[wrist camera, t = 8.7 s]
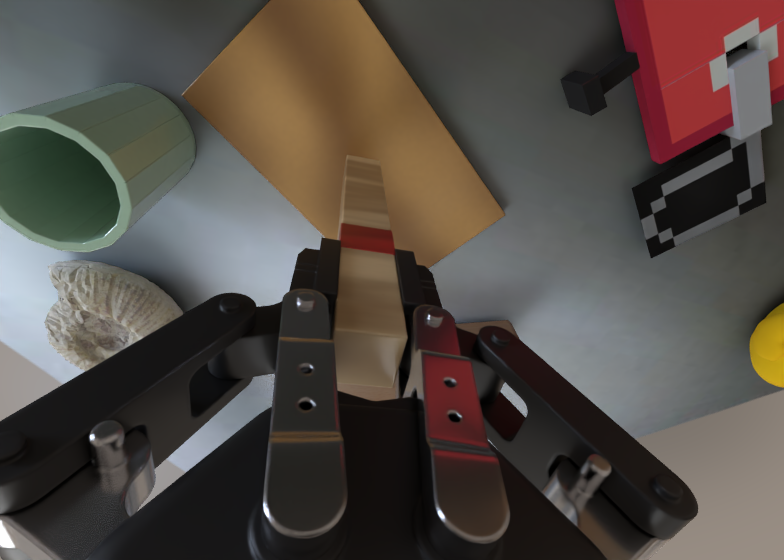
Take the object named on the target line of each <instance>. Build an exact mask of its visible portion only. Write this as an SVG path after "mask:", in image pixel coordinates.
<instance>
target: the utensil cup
mask: <svg viewBox="0 0 784 560" xmlns="http://www.w3.org/2000/svg"><path fill="white" fill-rule="evenodd" d="M195 154H196V144H195V138H194V135H193V132H192V129H191V127H190V124H189V122H188V121H187V119H186V117H185V116H184V115H183V113H182V112H181V111H180V109H179V108H178V107H177V106H176V105H175V104H174V103H173V102H172V101H170V100H169V99H168V98H167V97H165V96H164V95H162V94H161V93H159V92H157V91H156V90H154V89H151V88H149V87H147V86H144V85H140V84H135V83H114V84H110V85H107V86H103V87H100V88H96V89H93V90H89V91H86V92H82V93H79V94H75V95H72V96H68V97H65V98H61V99H58V100H54V101H51V102H47V103H44V104H40V105H37V106H33V107H30V108H26V109H23V110H19V111H16V112H12V113H9V114H6V115H3V116H0V219H1V220H2V221H3V222H4V223H5V224H7V225H8V226H10V227H11V228H13V229H14V230H16V231H17V232H19V233H20V234H22V235H23V236H25V237H26V238H28V239H31V240H32V241H35V242H37V243H40V244H43V245H46V246H49V247H51V248H54V249H57V250H61V251H75V252H91V251H95V250H98V249H101V248H105V247H108V246H111V245H113V244H114V243H115V242H116V241H117V240H118V239H119V238H120V237H121V236H122V235H123V234H124V233H125V232H126V231H128V230H129V229H130V228H131V227H132V226H133V225H134V224H135V223H136V222H137V221H138V220H139V219H140V218H141V217H142V216H143V215H144V214H146V213H147V212H148V211H149V210H150V209H151V208H152V207H153V206H154V205H155V204H156V203H157V202H158V201H159V200H160V199H161V198H162V197H164V196H165V195H166V194H167V193H168V192H169V191H170V190H171V189H172V188H173V187H174V186H175V185H176V184H177V183H178V182H179V181H180V180H181V179H182V178H183V177H185V176H186V175H187V174H188V172H189V171H190V169H191V167H192V165H193V163H194V160H195Z"/></svg>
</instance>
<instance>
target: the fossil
mask: <svg viewBox="0 0 784 560" xmlns="http://www.w3.org/2000/svg"><path fill="white" fill-rule="evenodd" d="M48 268H49V270H50V273H49V275H50V279H51V282H52V283H53V285H54V287H55V288H56V289H57V290H58V301H57V302H56V303H55V304H54V305H53V306H52V307H51V309H50V310H49V312H48V314H47V317H46V320H45V322H44V323H45V325H46V329H47V330H48V340H49V343H50V344H51V345H52V346H53V348H54V349H56V350H57V352H58V353H60V354H61V356H63V357H65V360H68V361H69V362H70V363H72V364H74V365H75V366H77V367H79V368H80V369H83V370H85V371H87V370H89V369H91V368H92V367H94V366H96V365H97V364H99V363H101V362H103V361H104V360H106V359H108V358H109V357H111V356H113V355H115V354H116V353H118V352H120V351H121V350H123V349H125V348H127V347H128V346H130V345H132V344H133V343H135V342H137V341H139V340H140V339H142V338H144V337H145V336H147V335H149V334H150V333H152V332H154V331H156V330H157V329H159V328H161V327H162V326H164V325H166V324H168V323H169V322H171V321H173V320H174V319H176V318H178V317H180V316H181V315H183V311H182V310H181V309H180V307H179V306H177V303H176V302H174V300H173V298H171V297H170V296H169V295H168V294H166V293H165V292H164V290H162V289H159V286H157V285H155V284H154V283H152V282H149V281H148V280H147V279H145V278H143V277H142V276H140V275H137V274H135V273H131V272H129V271H126V270H123V269H122V268H120V267H116V266H111V265H108V264H105V263H103V262H94V261H87V260H72V261H64V262H56V263H53V264H50V265H49V266H48Z"/></svg>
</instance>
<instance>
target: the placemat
mask: <svg viewBox="0 0 784 560" xmlns="http://www.w3.org/2000/svg"><path fill="white" fill-rule="evenodd" d="M182 96H183V97H184V98H185V99H186V100H187V101H188V102H189V103H190V104H191V105H192V106H193V107H194V108H195V109H196V110H197V111H198V112H199V113H200V114H201V115H202V116H203V117H204V118H205V119H206V120H207V121H208V122H209V123H210V124H211V125H212V126H213V127H214V128H215V129H216V130H217V131H218V132H219V133H220V134H221V135H222V136H223V137H224V138H225V139H226V140H227V141H228V142H229V143H230V144H231V145H232V146H233V147H234V148H235V149H236V150H237V151H238V152H239V153H240V154H241V155H242V156H243V157H244V158H245V159H246V160H247V161H249V162H250V163H251V164H252V165H253V166H254V167H255V168H256V169H257V170H258V171H259V172H260V173H261V174H262V175H263V176H264V177H265V178H266V179H267V180H268V181H269V182H270V183H271V184H272V185H273V186H274V187H275V188H276V189H277V190H278V191H279V192H280V193H281V194H282V195H283V196H284V197H285V198H286V199H287V200H288V201H289V202H290V203H291V204H292V205H293V206H294V207H295V208H296V209H297V210H298V211H299V212H300V213H301V214H302V215H303V216H304V217H305V218H306V219H307V220H308V221H309V222H310V223H311V224H312V225H313V226H314V227H315V228H316V229H317V230H318V231H319V232H320V233H321V234H322V235H323V236H324V237H325V238H329V239H335V240H337V239H338V227H339V216H340V204H341V193H342V183H343V176H344V170H345V163H346V156H347V155H351V156H357V157H362V158H367V159H373V160H378V161H380V165H381V171H382V177H383V184H384V190H385V196H386V203H387V209H388V215H389V222H390V228H391V231H392V233H393V239H394V246H395V249H401V250H407V251H413V252H414V255H415V259H416V263H417V265H423V266H426V267H427V268H429V267H431V266H432V265H434V264H435V263H437V262H438V261H440V260H441V259H442V258H444V257H445V256H447V255H448V254H450V253H451V252H453V251H454V250H455V249H457V248H458V247H460V246H461V245H463V244H464V243H466V242H467V241H469V240H470V239H471V238H473V237H474V236H476V235H477V234H479V233H480V232H482V231H483V230H484V229H486V228H487V227H489V226H490V225H492V224H493V223H495V222H496V221H498V220H499V219H500V218H502V217H503V216H505V213H504V212H503V210H502V209H501V207H500V206H499V204H498V203H497V201H496V200H495V198H494V197H493V196H492V194H491V193H490V191H489V190H488V188H487V187H486V185H485V184H484V182H483V181H482V180H481V178H480V177H479V175H478V174H477V172H476V171H475V169H474V168H473V166H472V165H471V164H470V162H469V161H468V159H467V158H466V156H465V155H464V153H463V152H462V151H461V149H460V148H459V146H458V145H457V143H456V142H455V140H454V139H453V137H452V136H451V135H450V133H449V132H448V130H447V129H446V127H445V126H444V124H443V123H442V121H441V120H440V119H439V117H438V116H437V114H436V113H435V111H434V110H433V108H432V107H431V105H430V104H429V103H428V101H427V100H426V98H425V97H424V95H423V94H422V92H421V91H420V90H419V88H418V87H417V85H416V84H415V82H414V81H413V79H412V78H411V76H410V75H409V74H408V72H407V71H406V69H405V68H404V66H403V65H402V63H401V62H400V60H399V59H398V58H397V56H396V55H395V53H394V52H393V50H392V49H391V47H390V46H389V44H388V43H387V42H386V40H385V39H384V37H383V36H382V34H381V33H380V31H379V30H378V29H377V27H376V26H375V24H374V23H373V21H372V20H371V18H370V17H369V15H368V14H367V13H366V11H365V10H364V8H363V7H362V5H361V4H360V2H359V1H358V0H270V1H269V2H268V3H267V4H266V5H265V6H264V7H263V8H262V9H261V10H260V11H259V12H258V14H257V15H256V16H255V17H254V18H253V19H252V20H251V21H250V22H249V23H248V24H247V25H246V26H245V27H244V29H243V30H242V31H241V32H240V33H239V34H238V35H237V36H236V37H235V38H234V39H233V40H232V41H231V42H230V43H229V45H228V46H227V47H226V48H225V49H224V50H223V51H222V52H221V53H220V54H219V55H218V56H217V57H216V58H215V59H214V61H213V62H212V63H211V64H210V65H209V66H208V67H207V68H206V69H205V70H204V71H203V72H202V73H201V74H200V75H199V77H198V78H197V79H196V80H195V81H194V82H193V83H192V84H191V85H190V86H189V87H188V88H187V89H186V90H185V91H184V93H183V94H182Z"/></svg>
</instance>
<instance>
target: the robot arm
mask: <svg viewBox="0 0 784 560" xmlns="http://www.w3.org/2000/svg"><path fill="white" fill-rule="evenodd" d="M340 250H341V240H335V239H329V238H322V240H321V246H320V250H314V249H307V248H305V249H304V250H303V251H302V252H301V253H299V254H298V257H297V262H296V266H295V270H294V274H293V278H292V282H291V286H290V290H289V292H288V293H286V294H285V295H284V297H283V301H282V302H280V303H277V304H274V305H270V306H261V307H256V304H255V302H254V301H253V300H252V299H251V298H250V297H248V296H246V295H243V294H238V293H224V294H219V295H216V296H214V297H212V298H210V299H209V300H207V301H205V302H204V303H202V304H200V305H198V306H197V307H195V308H193V309H192V310H190V311H188V312H186V313H185V314H183V315H181V316H180V317H178V318H176V319H174V320H173V321H171V322H169V323H168V324H166V325H164V326H162V327H161V328H159V329H157V330H156V331H154V332H152V333H150V334H149V335H147V336H145V337H144V338H142V339H140V340H139V341H137V342H135V343H133V344H132V345H130V346H128V347H127V348H125V349H123V350H121V351H120V352H118V353H116V354H115V355H113V356H111V357H109V358H108V359H106V360H104V361H103V362H101V363H99V364H97V365H96V366H94V367H92V368H91V369H89V370H87V371H85V372H84V373H82V374H80V375H79V376H77V377H75V378H74V379H72V380H70V381H68V382H67V383H65V384H63V385H62V386H60V387H58V388H56V389H55V390H53V391H51V392H50V393H48V394H46V395H44V396H43V397H41V398H39V399H38V400H36V401H34V402H33V403H31V404H29V405H27V406H26V407H24V408H22V409H20V410H19V411H17V412H15V413H14V414H12V415H10V416H9V417H7V418H5V419H3V420H2V421H0V557H1V558H2V560H648V559H649V558H651V557H652V556H653V555H654V554H655V553H656V552H657V551H658V550H659V549H660V548H661V547H663V546H664V545H665V544H666V543H667V542H668V541H669V540H670V539H671V538H672V537H673V536H675V534H677V533H678V532H679V531H680V530H681V529H682V528H683V527H685V526H686V525H687V524H688V523H689V522H690V521H691V520H692V519H693V518H694V517H695V516H696V515H697V513H698V504H697V501H696V499H695V497H694V495H693V493H692V492H691V490H690V489H689V488H688V486H687V485H686V484H685V483H684V482H683V481H682V480H681V479H680V478H679V477H678V476H677V475H676V474H674V473H673V472H672V471H671V470H670V469H668V468H667V467H666V466H665V465H664V464H663V463H662V462H660V461H659V460H658V459H657V458H656V457H655V456H654V455H652V454H651V453H650V452H649V451H648V450H647V449H646V448H644V447H643V446H642V445H641V444H639V442H637V441H636V440H635V439H634V438H633V437H632V436H630V435H629V434H628V433H627V432H626V431H625V430H624V429H622V428H621V427H620V426H619V425H618V424H617V423H615V422H614V421H613V420H612V419H611V418H610V417H609V416H607V415H606V414H605V413H604V412H603V411H602V410H600V409H599V408H598V407H597V406H596V405H595V404H593V403H592V402H591V401H590V400H589V399H588V398H587V397H585V396H584V395H583V394H582V393H581V392H580V391H578V390H577V389H576V388H575V387H574V386H573V385H572V384H570V383H569V382H568V381H567V380H566V379H565V378H563V377H562V376H561V375H560V374H559V373H558V372H556V371H555V370H554V369H553V368H552V367H551V366H550V365H548V364H547V363H546V362H545V361H544V360H543V359H541V358H540V357H539V356H538V355H537V354H536V353H535V352H533V351H532V350H531V349H530V348H529V347H528V346H526V345H525V344H524V343H523V342H522V341H521V340H519V339H518V338H517V337H516V336H515V335H514V334H512V333H511V332H509V331H508V330H506V329H504V328H501V327H498V326H484V327H482V328H481V329H480V330H479V333H478V335H477V334H474V333H472V332H469V331H466V330H463V329H461V328H458V327H457V326H456V325H455V320H454V318H453V316H452V315H451V314H450V313H449V312H448V311H446V310H445V309H443V308H442V305H441V302H440V299H439V295H438V292H437V290H436V285H435V283H434V282H435V281H434V278H433V274H432V273H431V272H430V271H429V270H428V268H427V267H426V266H423V265H417V263H416V259H415V255H414V252H413V251H407V250H401V249H395V260H396V266H397V273H398V279H399V285H400V292H401V298H402V304H403V310H404V317H405V323H406V329H407V336H408V339H407V342H406V346H405V349H404V352H403V356H402V359H401V362H400V366H399V369H398V373H397V376H396V390H395V399H390V400H382V401H371V400H368V399H364V398H361V397H358V396H354V395H351V394H348V393H344V392H341V391H338V389H337V375H336V360H335V346H334V340H333V339H330V333H331V327H332V321H333V315H334V309H335V303H336V299H337V294H338V279H339V264H340ZM274 373H275V381H274V392H273V402H272V407H270V408H268V409H267V410H265V411H264V412H262V413H260V414H259V415H258V416H256V417H255V418H254V419H253V420H251V421H250V422H249V423H248V424H246V425H245V426H244V427H243V428H241V429H240V430H239V431H238V432H236V433H235V434H234V435H233V436H231V437H230V438H229V439H228V440H226V441H225V442H224V443H223V444H221V445H220V446H219V447H218V448H216V449H215V450H214V451H213V452H211V453H210V454H209V455H208V456H206V457H205V458H204V459H202V460H201V461H200V462H199V463H197V464H196V465H195V466H194V467H192V468H191V469H190V470H189V471H187V472H186V473H185V474H184V475H182V476H181V477H180V478H179V479H177V480H176V481H175V482H174V483H172V484H171V485H170V486H169V487H167V488H166V489H165V490H164V491H163V492H161V493H160V494H159V495H157V496H156V497H155V498H154V499H152V500H151V501H150V502H149V503H147V504H146V505H145V506H144V507H142V508H141V509H140V510H139V511H137V510H138V509H139V507H140V506H141V504H142V503H143V502H144V501H145V500H146V498H147V497H148V496H149V494H150V493H151V491H152V489H153V487H154V484H155V478H156V476H155V468H156V467H158V466H159V465H160V464H161V463H162V462H163V461H164V460H165V459H166V458H168V457H169V456H170V455H171V454H172V453H173V452H174V451H175V450H176V449H178V448H179V447H180V446H181V445H182V444H183V443H184V442H185V441H186V440H188V439H189V438H190V437H191V436H192V435H193V434H194V433H195V432H197V431H198V430H199V429H200V428H201V427H202V426H203V425H204V424H205V423H207V422H208V421H209V420H210V419H211V418H212V417H213V416H214V415H215V414H217V413H218V412H219V411H220V410H221V409H222V408H223V407H224V406H225V405H227V404H228V403H229V402H230V401H231V400H232V399H233V398H234V397H235V396H237V395H238V394H239V393H240V392H241V391H242V390H243V389H244V388H246V387H247V386H248V385H249V384H250V383H251V381H252V379H253V377H255V376H261V375H268V374H274ZM504 382H506V383H507V384H508V385H509V386H510V387H511V388H512V389H513V390H514V391H515V392H516V393H517V394H518V395H519V396H520V397H521V398H522V399H523V401H524V402H525V404H526V406H527V410H528V414H527V417H526V418H525V417H524V416H523V415H522V413H521V412H520V411H519V410H518V409H517V408H516V407H515V406H514V405H513V404H512V403H511V402H510V401H509V400H508V399H507V398H506V397H505V396H504V395H503V394H502V393H501V392H500V390H501V388H502V386H503V384H504ZM487 438H488V439H489V440H490V441H491V442H492V444H493V445H494V446H495V447H496V448H497V449H498V450H497V449H496V448H495V447H494V446H493V445H492V444H491V443H490V442H489V441H488V439H487Z"/></svg>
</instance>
